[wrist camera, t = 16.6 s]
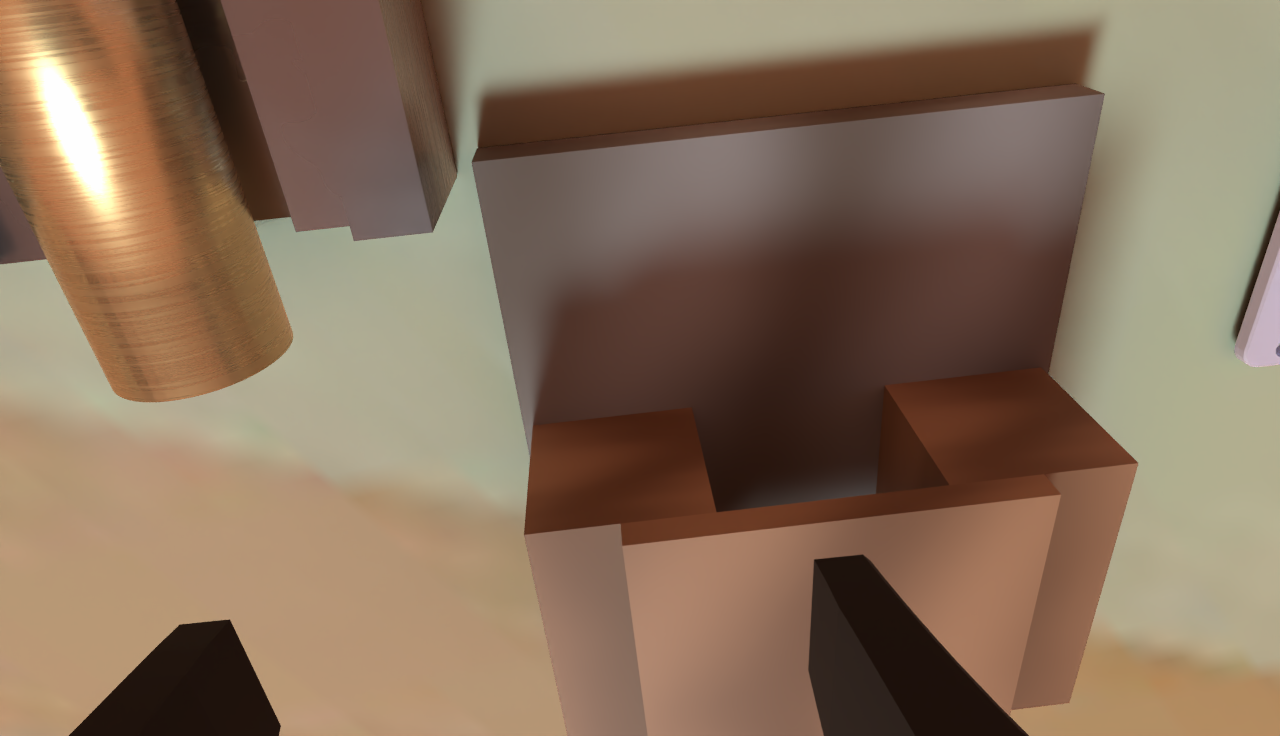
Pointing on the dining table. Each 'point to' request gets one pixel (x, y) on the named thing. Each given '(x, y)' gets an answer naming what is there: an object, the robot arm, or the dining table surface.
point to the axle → (135, 195)
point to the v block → (315, 115)
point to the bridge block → (801, 399)
